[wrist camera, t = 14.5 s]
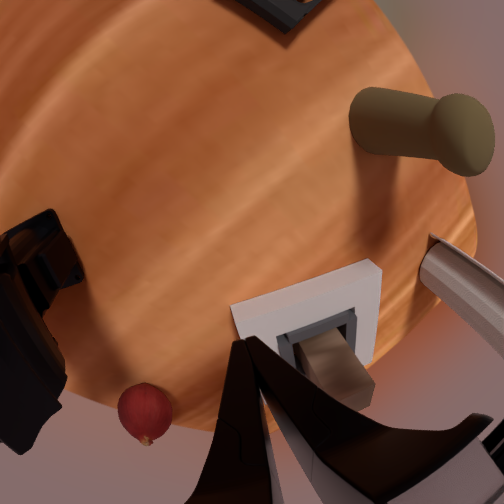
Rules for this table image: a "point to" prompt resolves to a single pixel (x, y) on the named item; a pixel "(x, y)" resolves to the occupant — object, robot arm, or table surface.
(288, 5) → the vhs tape
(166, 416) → the onion
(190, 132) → the table surface
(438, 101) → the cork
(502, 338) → the paper towel roll
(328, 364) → the walnut peg
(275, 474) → the robot arm
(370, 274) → the collar block
